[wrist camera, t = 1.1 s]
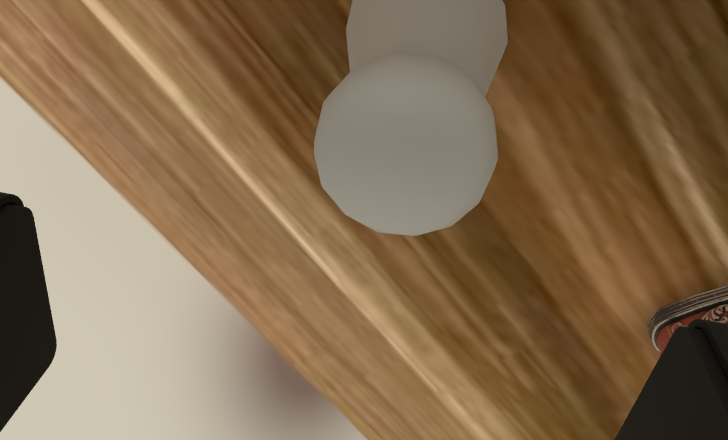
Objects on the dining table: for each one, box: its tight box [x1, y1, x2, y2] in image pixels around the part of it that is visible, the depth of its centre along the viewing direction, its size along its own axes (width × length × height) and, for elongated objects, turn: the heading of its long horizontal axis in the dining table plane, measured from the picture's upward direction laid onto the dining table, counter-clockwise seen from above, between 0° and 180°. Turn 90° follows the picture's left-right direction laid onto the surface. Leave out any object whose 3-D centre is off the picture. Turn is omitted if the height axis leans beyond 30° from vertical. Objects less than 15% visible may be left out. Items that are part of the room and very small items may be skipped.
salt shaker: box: [314, 0, 508, 236], centre depth 19 cm, size 6×6×13 cm
